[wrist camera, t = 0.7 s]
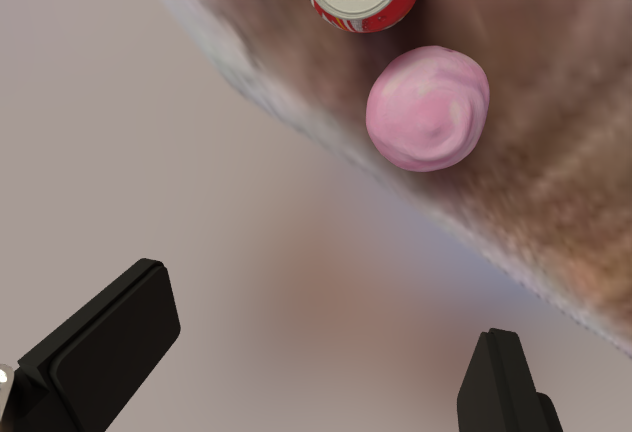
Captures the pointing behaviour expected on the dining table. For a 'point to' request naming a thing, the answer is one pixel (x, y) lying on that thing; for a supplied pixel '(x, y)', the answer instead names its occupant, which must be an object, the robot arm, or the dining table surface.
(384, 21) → the soda can
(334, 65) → the dining table surface
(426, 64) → the cupcake
